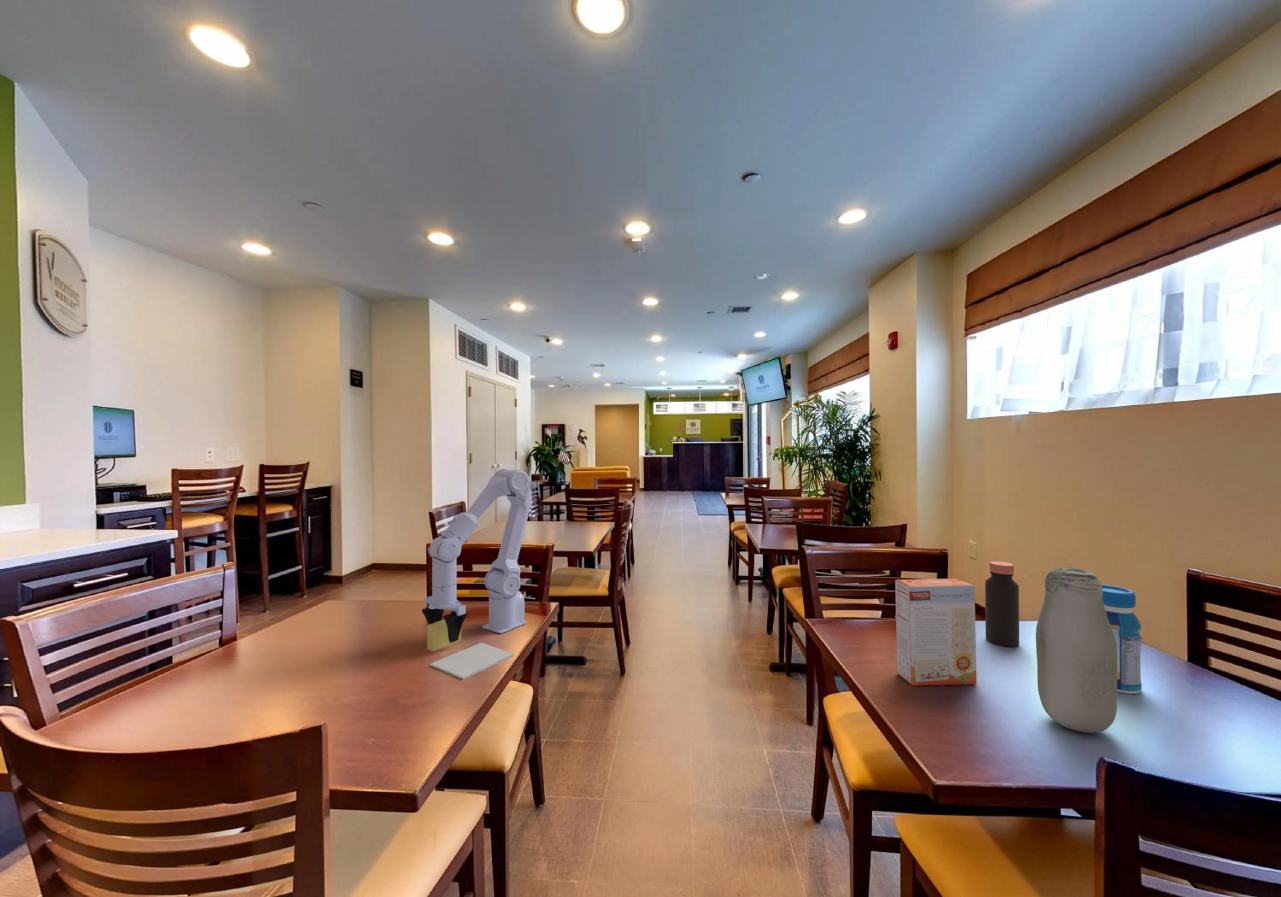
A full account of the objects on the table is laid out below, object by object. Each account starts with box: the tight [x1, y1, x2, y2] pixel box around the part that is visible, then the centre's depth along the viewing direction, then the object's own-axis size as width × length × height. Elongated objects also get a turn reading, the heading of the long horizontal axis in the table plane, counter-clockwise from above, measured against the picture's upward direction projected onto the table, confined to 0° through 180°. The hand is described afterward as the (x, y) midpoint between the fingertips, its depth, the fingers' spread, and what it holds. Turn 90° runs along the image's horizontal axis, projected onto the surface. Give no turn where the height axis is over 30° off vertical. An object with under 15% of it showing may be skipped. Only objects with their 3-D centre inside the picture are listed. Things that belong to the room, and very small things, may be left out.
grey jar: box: [1035, 566, 1118, 734], centre depth 82 cm, size 10×10×28 cm
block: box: [426, 619, 462, 652], centre depth 118 cm, size 8×2×6 cm, turn 147°
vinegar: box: [984, 561, 1020, 648], centre depth 119 cm, size 7×7×20 cm
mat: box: [430, 642, 515, 681], centre depth 109 cm, size 14×12×1 cm
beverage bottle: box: [1101, 584, 1143, 695], centre depth 97 cm, size 8×8×20 cm
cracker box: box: [894, 578, 978, 687], centre depth 99 cm, size 14×6×21 cm, turn 91°
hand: (444, 637), depth 118 cm, fingers open, 7 cm apart
